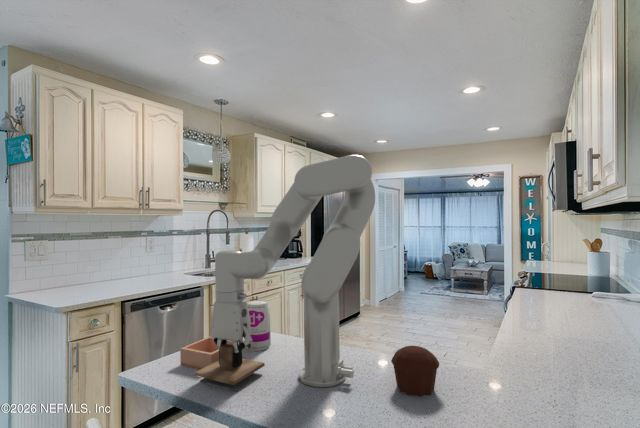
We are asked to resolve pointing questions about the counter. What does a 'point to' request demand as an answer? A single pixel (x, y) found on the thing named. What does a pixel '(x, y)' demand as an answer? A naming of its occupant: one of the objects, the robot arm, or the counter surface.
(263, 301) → the supplement can
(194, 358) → the dish
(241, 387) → the mat
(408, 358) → the muffin
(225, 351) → the lid
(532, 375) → the counter surface
